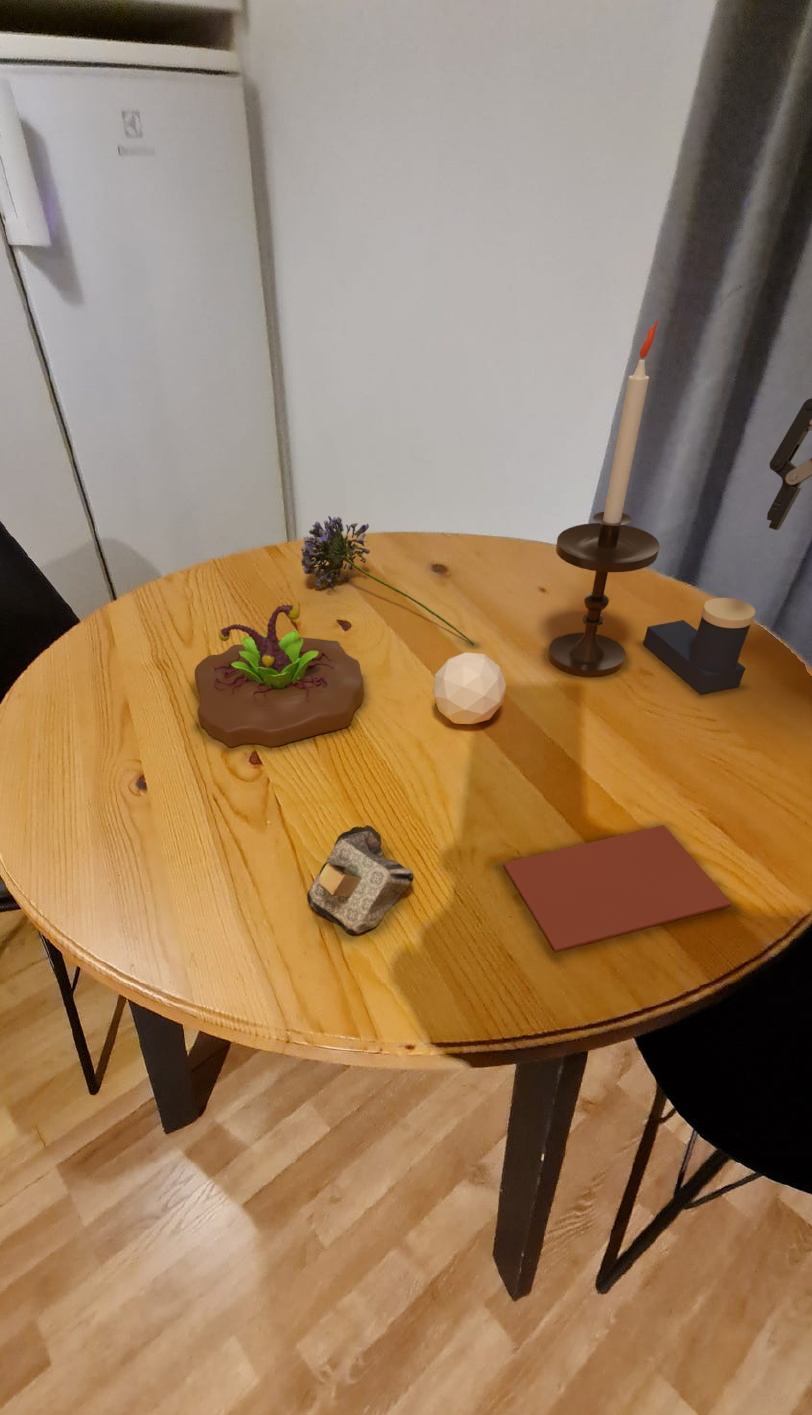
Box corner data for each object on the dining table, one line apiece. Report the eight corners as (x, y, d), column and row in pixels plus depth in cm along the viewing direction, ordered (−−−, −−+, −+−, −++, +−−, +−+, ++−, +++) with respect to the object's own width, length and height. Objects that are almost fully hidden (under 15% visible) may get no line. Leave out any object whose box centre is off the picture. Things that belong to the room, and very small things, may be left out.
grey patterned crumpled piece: (439, 828, 66) (378, 878, 56) (431, 898, 68) (371, 957, 58) (357, 807, 69) (286, 851, 59) (352, 874, 72) (283, 927, 62)
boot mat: (662, 827, 69) (663, 824, 69) (730, 906, 62) (732, 902, 62) (503, 866, 67) (503, 863, 66) (554, 952, 60) (555, 949, 59)
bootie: (740, 687, 86) (766, 615, 80) (700, 695, 85) (723, 623, 79) (679, 637, 94) (698, 569, 88) (642, 644, 94) (659, 576, 88)
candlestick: (615, 632, 96) (685, 307, 72) (644, 677, 88) (734, 328, 64) (531, 638, 96) (574, 314, 72) (553, 684, 88) (609, 336, 64)
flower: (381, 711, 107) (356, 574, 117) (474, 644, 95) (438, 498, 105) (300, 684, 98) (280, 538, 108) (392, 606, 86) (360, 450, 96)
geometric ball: (480, 744, 84) (504, 721, 77) (415, 717, 84) (433, 691, 76) (500, 686, 86) (526, 658, 78) (436, 659, 86) (456, 628, 78)
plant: (379, 732, 82) (377, 641, 75) (201, 758, 80) (181, 668, 73) (347, 643, 97) (342, 560, 89) (196, 664, 95) (178, 580, 87)
